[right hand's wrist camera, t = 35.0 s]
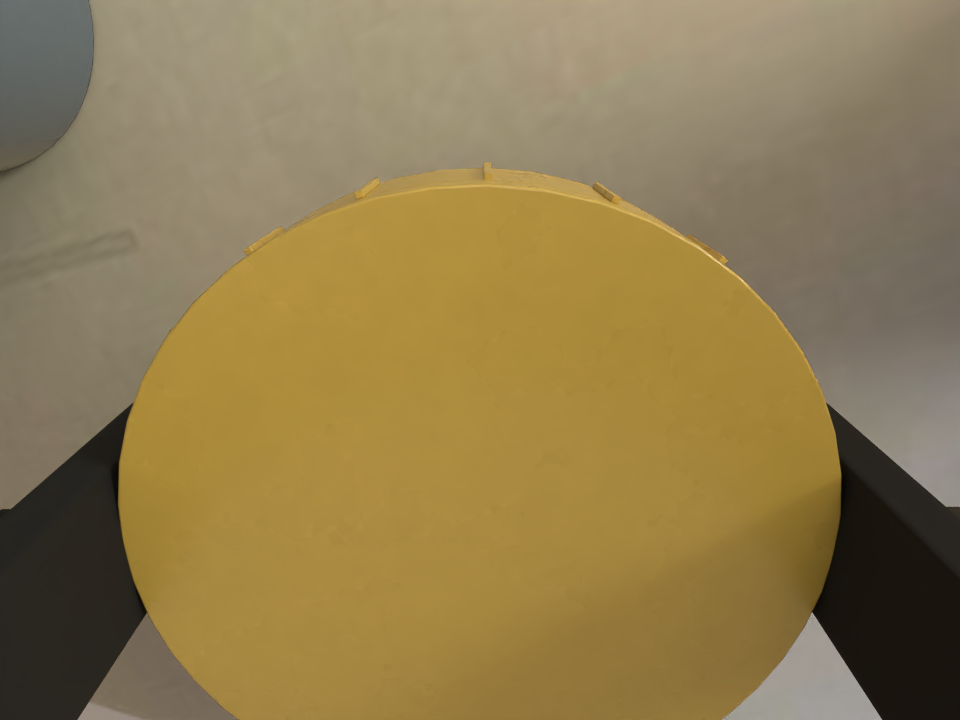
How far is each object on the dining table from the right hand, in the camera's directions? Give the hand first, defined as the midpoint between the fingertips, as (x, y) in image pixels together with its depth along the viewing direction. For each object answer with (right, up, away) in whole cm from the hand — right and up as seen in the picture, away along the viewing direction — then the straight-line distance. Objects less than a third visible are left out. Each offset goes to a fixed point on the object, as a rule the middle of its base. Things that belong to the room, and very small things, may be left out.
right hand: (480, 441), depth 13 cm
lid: (0, -1, -3) cm, 3 cm away
